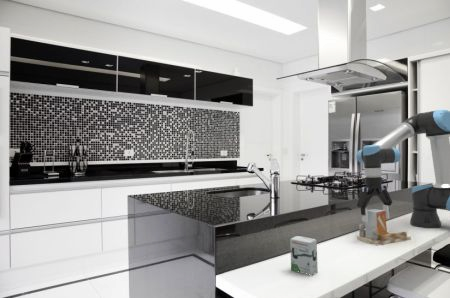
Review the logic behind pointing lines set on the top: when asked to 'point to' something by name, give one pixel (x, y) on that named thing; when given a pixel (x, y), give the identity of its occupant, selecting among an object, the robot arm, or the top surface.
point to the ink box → (304, 254)
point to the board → (381, 236)
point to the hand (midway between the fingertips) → (375, 220)
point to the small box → (375, 222)
